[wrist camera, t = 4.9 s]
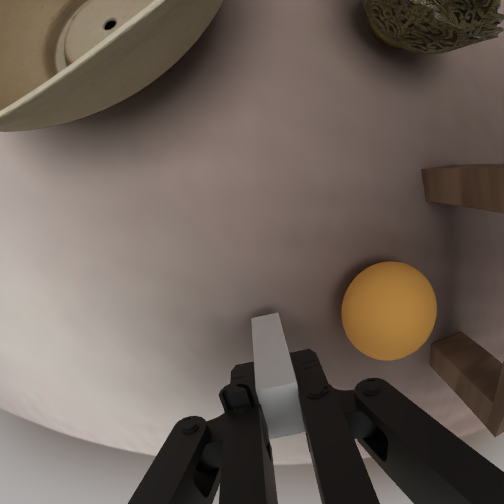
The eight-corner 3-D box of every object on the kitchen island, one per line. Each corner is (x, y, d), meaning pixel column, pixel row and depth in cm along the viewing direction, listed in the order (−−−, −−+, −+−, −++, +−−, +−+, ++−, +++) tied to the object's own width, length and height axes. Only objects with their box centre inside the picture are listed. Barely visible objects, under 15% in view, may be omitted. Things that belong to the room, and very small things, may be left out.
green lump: (451, 53, 15) (522, 18, 7) (391, 97, 16) (470, 58, 8) (383, -23, 14) (431, -82, 6) (312, 9, 15) (347, -68, 7)
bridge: (455, 164, 17) (560, 165, 8) (459, 352, 20) (527, 414, 11) (421, 169, 17) (530, 169, 8) (430, 365, 20) (495, 437, 11)
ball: (324, 290, 14) (343, 254, 19) (338, 382, 15) (354, 331, 20) (441, 277, 12) (429, 243, 16) (439, 376, 13) (432, 324, 18)
